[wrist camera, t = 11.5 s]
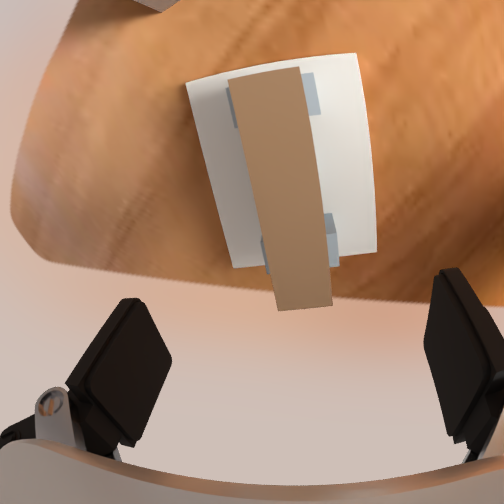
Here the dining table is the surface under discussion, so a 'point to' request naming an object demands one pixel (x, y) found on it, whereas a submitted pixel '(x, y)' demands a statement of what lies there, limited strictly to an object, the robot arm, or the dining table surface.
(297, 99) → the long tan plank
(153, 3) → the perfume bottle
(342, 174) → the stand
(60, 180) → the dining table surface
